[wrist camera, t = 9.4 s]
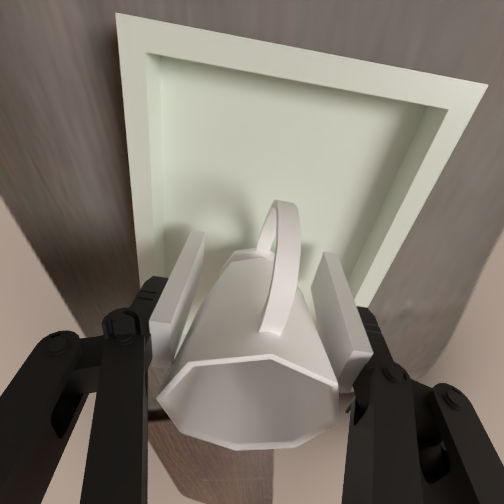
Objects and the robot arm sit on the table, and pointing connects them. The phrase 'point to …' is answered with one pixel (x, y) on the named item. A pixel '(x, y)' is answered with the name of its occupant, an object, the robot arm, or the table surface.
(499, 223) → the table surface
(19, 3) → the table surface
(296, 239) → the cup
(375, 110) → the tray
